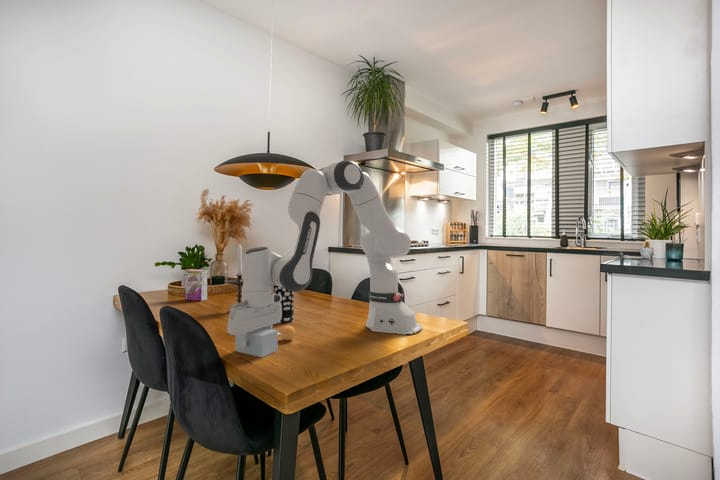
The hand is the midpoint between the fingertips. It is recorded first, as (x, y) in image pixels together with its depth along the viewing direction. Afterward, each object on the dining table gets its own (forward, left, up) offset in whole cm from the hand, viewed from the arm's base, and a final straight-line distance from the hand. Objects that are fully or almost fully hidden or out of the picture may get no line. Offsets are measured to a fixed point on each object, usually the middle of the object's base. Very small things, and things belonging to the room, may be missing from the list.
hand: (256, 342), depth 114 cm
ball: (-1, -14, 0) cm, 14 cm away
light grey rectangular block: (0, 0, -3) cm, 3 cm away
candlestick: (+48, -38, -3) cm, 61 cm away
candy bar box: (+88, -45, -3) cm, 99 cm away
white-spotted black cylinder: (+18, -34, -3) cm, 39 cm away
